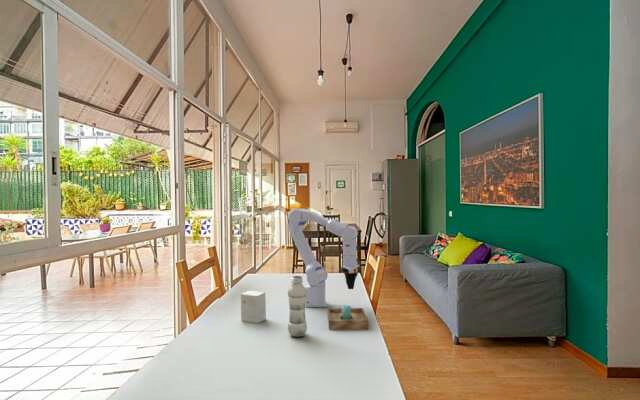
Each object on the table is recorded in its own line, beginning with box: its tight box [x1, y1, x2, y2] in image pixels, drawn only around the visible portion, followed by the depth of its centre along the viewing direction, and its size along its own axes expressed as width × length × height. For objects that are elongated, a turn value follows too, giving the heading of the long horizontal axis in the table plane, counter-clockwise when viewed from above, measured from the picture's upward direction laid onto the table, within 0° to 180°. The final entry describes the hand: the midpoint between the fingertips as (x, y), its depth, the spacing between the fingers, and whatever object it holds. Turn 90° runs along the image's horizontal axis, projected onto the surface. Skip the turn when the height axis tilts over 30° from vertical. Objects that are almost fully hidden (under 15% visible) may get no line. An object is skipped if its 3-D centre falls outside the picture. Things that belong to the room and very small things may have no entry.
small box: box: [240, 290, 267, 324], centre depth 134 cm, size 8×6×10 cm
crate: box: [327, 307, 369, 331], centre depth 131 cm, size 14×14×3 cm
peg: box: [341, 304, 352, 320], centre depth 130 cm, size 3×3×6 cm
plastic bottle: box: [287, 275, 308, 338], centre depth 118 cm, size 6×7×20 cm
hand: (349, 286), depth 147 cm, fingers open, 7 cm apart
